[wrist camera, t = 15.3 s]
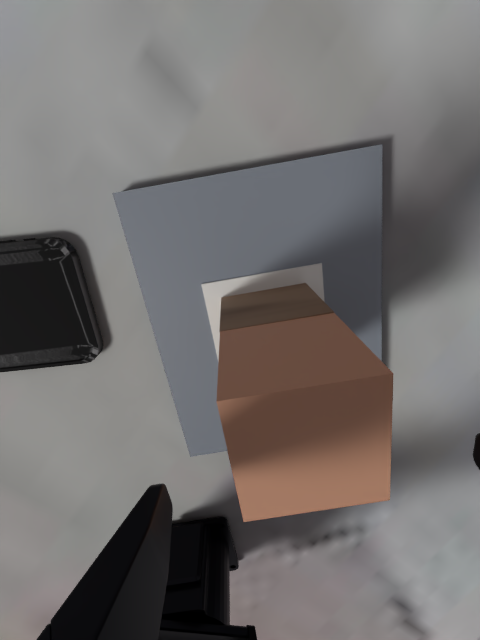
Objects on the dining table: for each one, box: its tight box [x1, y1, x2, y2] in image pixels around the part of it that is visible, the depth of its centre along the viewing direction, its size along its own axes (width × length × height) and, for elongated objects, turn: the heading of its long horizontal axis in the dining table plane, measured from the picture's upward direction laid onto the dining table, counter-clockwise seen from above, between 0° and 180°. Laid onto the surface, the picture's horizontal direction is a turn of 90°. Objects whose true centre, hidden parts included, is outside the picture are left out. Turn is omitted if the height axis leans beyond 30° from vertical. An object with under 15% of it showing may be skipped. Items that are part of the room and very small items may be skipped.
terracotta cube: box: [216, 313, 393, 522], centre depth 12 cm, size 5×5×5 cm
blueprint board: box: [113, 144, 382, 457], centre depth 19 cm, size 18×14×1 cm
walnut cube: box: [219, 283, 334, 332], centre depth 16 cm, size 5×5×5 cm
